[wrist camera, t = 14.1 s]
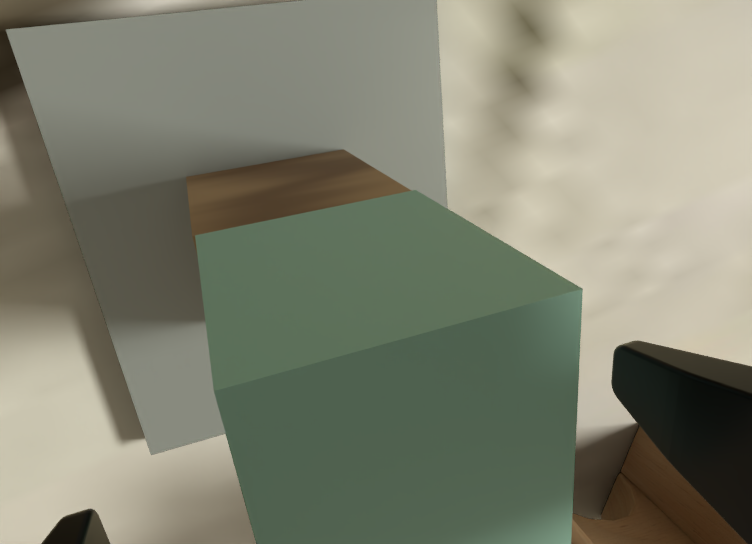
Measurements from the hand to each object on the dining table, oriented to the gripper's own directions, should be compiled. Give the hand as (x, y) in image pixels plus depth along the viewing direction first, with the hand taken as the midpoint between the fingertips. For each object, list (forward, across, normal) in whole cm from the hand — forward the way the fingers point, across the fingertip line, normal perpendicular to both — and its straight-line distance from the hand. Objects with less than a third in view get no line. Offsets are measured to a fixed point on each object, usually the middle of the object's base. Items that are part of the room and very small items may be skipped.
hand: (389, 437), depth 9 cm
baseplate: (+12, 0, 0) cm, 12 cm away
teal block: (+5, 0, 0) cm, 5 cm away
